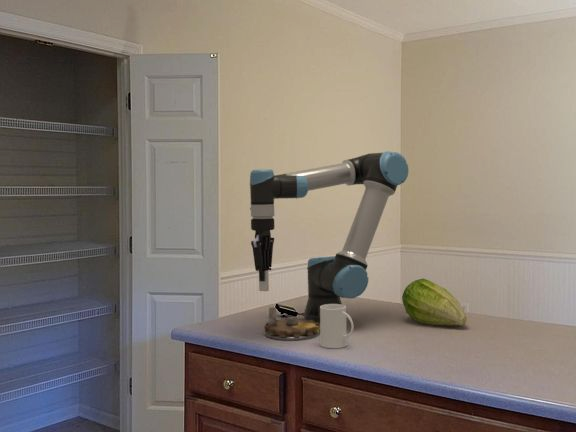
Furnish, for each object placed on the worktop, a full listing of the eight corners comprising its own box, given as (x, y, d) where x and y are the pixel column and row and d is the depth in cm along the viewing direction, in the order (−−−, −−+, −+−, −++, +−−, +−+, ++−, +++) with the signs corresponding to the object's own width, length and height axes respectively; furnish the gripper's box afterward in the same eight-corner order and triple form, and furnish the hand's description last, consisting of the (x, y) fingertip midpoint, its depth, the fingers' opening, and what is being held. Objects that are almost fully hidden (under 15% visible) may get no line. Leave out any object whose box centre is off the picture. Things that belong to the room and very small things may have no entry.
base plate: (313, 324, 208) (313, 322, 207) (325, 338, 189) (325, 336, 189) (261, 328, 204) (261, 325, 204) (268, 342, 186) (268, 339, 186)
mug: (361, 346, 179) (360, 307, 179) (342, 352, 174) (341, 312, 173) (333, 339, 188) (332, 302, 187) (314, 344, 182) (313, 306, 182)
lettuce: (473, 335, 204) (444, 347, 194) (419, 303, 222) (390, 313, 213) (482, 297, 198) (453, 308, 189) (426, 267, 217) (396, 276, 207)
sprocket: (313, 321, 207) (312, 300, 207) (325, 335, 189) (324, 311, 189) (261, 325, 204) (261, 303, 204) (268, 338, 186) (268, 314, 186)
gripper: (260, 216, 195) (262, 286, 197) (242, 218, 183) (244, 293, 185) (281, 216, 192) (282, 287, 194) (264, 219, 180) (266, 295, 182)
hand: (263, 290), depth 189 cm, fingers closed
